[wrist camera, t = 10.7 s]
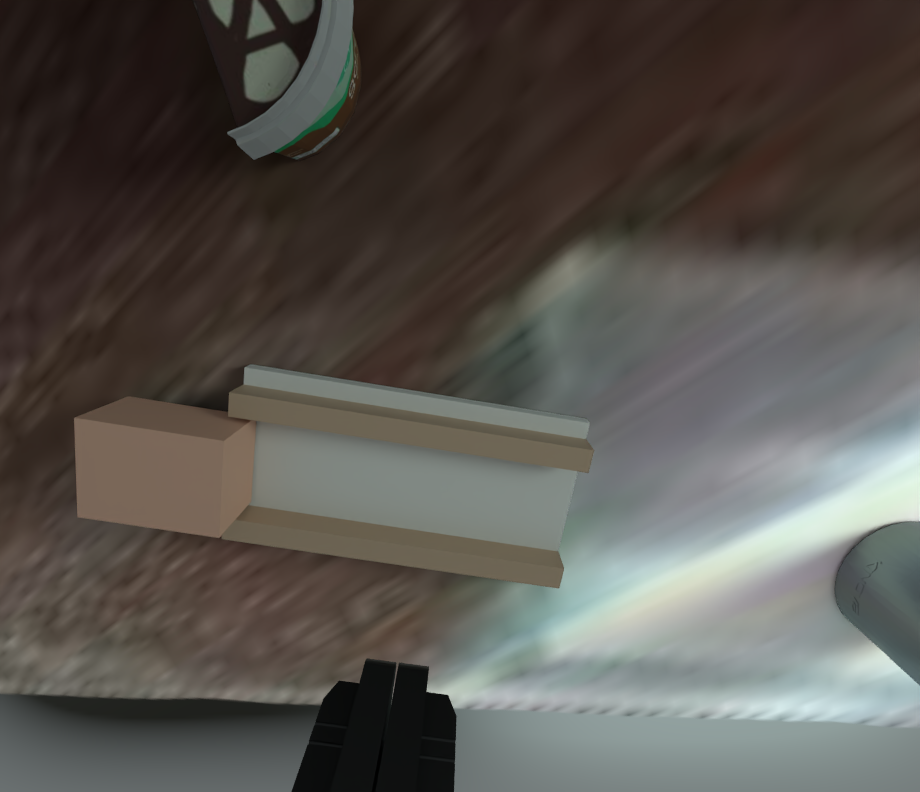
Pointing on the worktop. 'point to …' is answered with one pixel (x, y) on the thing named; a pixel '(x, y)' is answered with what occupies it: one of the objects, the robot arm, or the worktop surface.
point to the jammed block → (163, 466)
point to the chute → (407, 476)
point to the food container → (285, 71)
